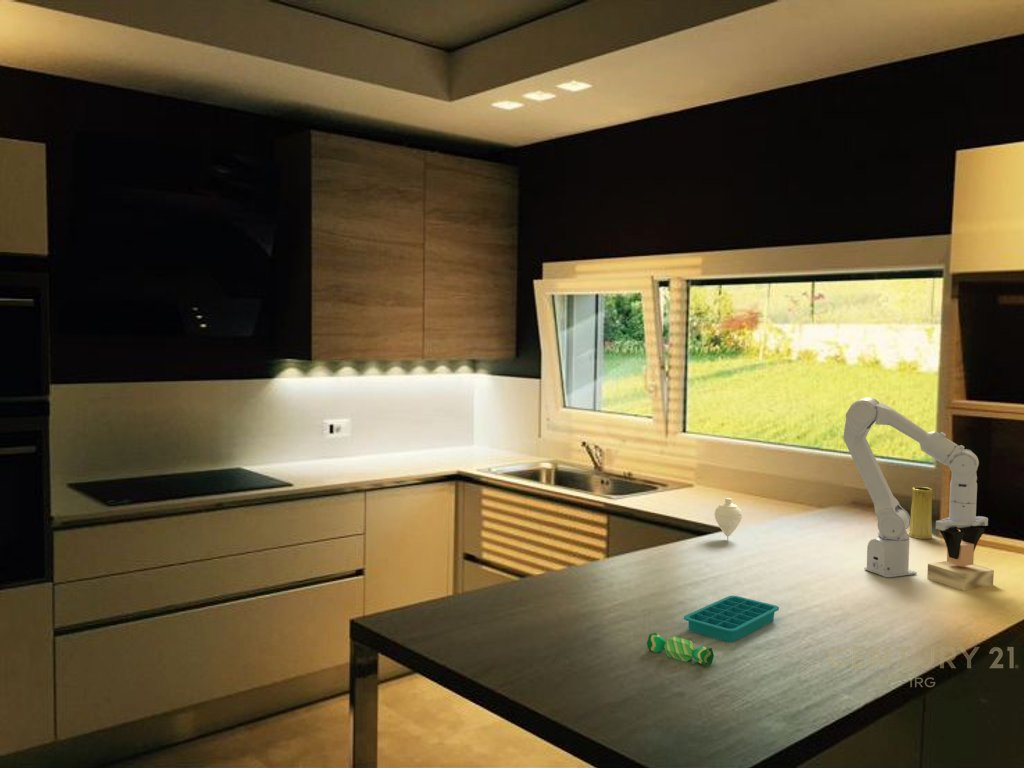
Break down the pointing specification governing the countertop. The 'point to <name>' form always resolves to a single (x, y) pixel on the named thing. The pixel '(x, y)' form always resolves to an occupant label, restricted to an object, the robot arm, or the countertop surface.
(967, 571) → the beech block
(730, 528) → the spinning top
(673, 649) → the candy
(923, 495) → the vase
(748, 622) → the ice cube tray
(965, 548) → the terracotta block
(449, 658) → the countertop surface
